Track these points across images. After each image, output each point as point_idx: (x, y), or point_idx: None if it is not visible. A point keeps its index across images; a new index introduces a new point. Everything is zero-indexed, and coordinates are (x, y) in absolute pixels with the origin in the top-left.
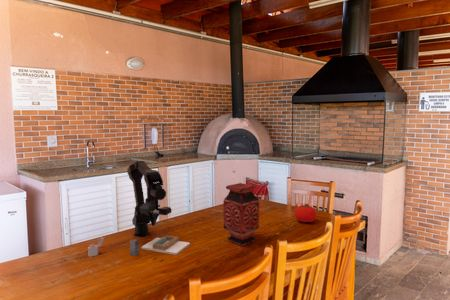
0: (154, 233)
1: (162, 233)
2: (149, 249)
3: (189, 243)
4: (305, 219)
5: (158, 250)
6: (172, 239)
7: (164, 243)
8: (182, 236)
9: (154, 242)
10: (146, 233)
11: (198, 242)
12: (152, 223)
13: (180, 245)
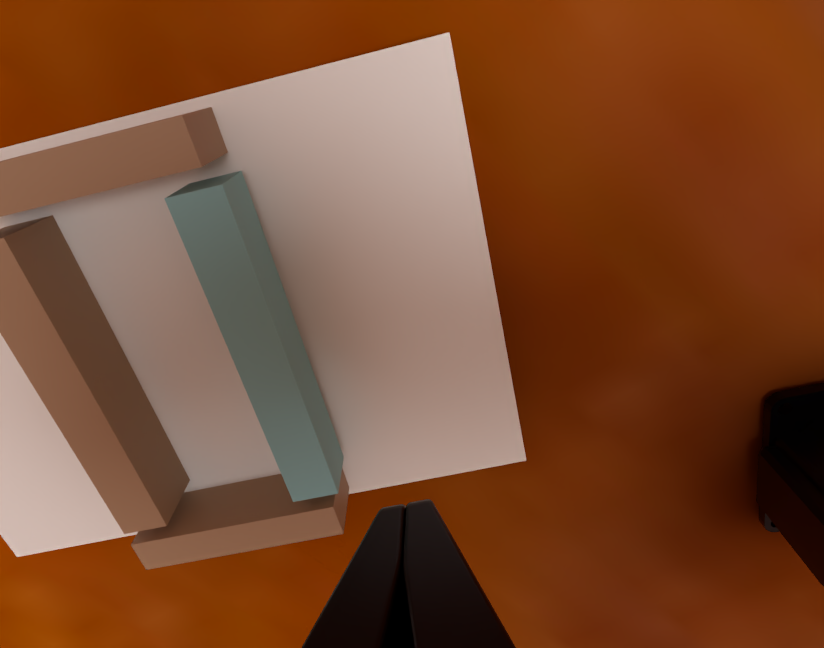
0: (692, 550)
1: (596, 594)
2: (276, 77)
3: (14, 544)
4: None
5: (93, 125)
6: (128, 472)
7: None
8: None
9: (408, 315)
10: (765, 475)
11: (27, 619)
12: (401, 557)
13: (13, 441)
